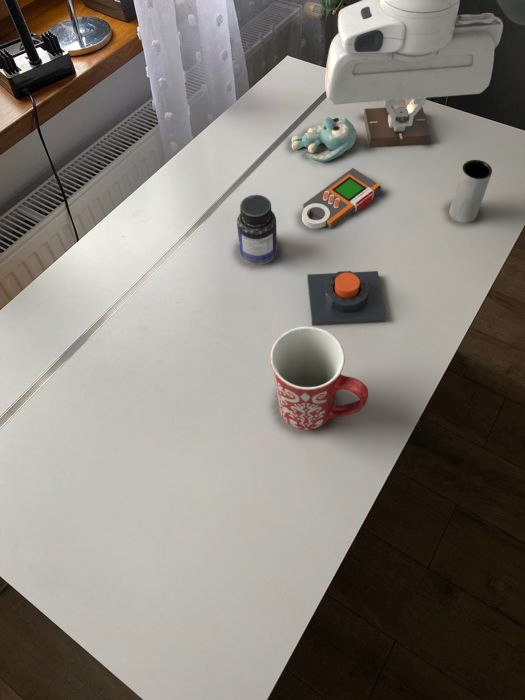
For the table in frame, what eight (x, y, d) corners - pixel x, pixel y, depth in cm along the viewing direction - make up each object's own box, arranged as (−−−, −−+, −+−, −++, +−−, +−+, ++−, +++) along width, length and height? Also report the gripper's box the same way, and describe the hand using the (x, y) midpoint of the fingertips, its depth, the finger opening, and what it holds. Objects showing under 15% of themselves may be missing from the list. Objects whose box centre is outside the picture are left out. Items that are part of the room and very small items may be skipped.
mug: (260, 420, 83) (256, 368, 71) (292, 371, 87) (292, 315, 75) (343, 462, 79) (352, 415, 67) (372, 409, 83) (385, 356, 72)
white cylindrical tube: (461, 230, 101) (477, 182, 92) (442, 215, 103) (456, 166, 94) (480, 219, 102) (498, 171, 93) (461, 204, 104) (477, 155, 96)
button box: (376, 280, 96) (379, 263, 92) (384, 325, 91) (388, 309, 87) (306, 283, 96) (307, 266, 92) (311, 329, 91) (312, 313, 87)
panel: (418, 117, 118) (421, 102, 115) (428, 151, 112) (431, 136, 110) (362, 120, 118) (364, 105, 115) (369, 154, 112) (371, 139, 110)
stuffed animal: (287, 106, 112) (352, 94, 110) (294, 138, 118) (355, 127, 116) (287, 143, 106) (355, 131, 104) (294, 175, 112) (359, 164, 110)
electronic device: (293, 210, 101) (354, 165, 106) (293, 222, 104) (353, 177, 109) (321, 231, 99) (383, 183, 103) (321, 243, 101) (381, 196, 106)
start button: (357, 279, 91) (358, 271, 90) (360, 298, 89) (361, 290, 88) (333, 280, 91) (334, 273, 90) (335, 299, 89) (336, 291, 88)
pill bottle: (248, 237, 102) (244, 187, 92) (282, 246, 100) (281, 196, 91) (234, 263, 98) (228, 213, 89) (269, 273, 97) (267, 223, 88)
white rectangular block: (390, 111, 114) (393, 91, 111) (399, 111, 114) (403, 91, 111) (394, 131, 111) (398, 111, 107) (404, 131, 111) (408, 111, 107)
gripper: (500, -2, 70) (472, 103, 82) (325, 11, 71) (321, 115, 82) (515, 26, 67) (483, 133, 78) (331, 40, 67) (326, 144, 79)
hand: (399, 124), depth 80 cm, fingers closed
